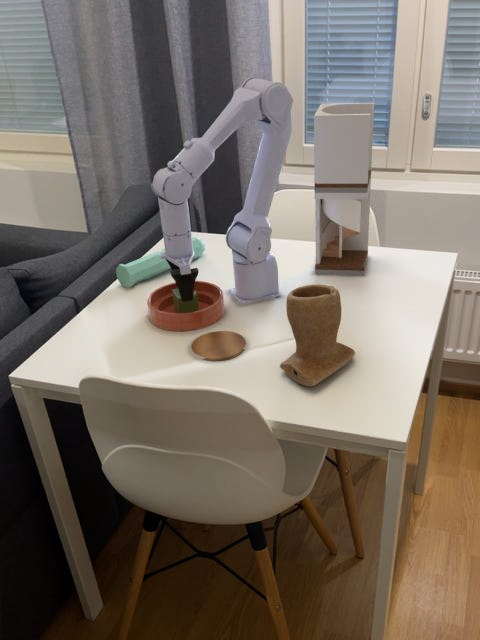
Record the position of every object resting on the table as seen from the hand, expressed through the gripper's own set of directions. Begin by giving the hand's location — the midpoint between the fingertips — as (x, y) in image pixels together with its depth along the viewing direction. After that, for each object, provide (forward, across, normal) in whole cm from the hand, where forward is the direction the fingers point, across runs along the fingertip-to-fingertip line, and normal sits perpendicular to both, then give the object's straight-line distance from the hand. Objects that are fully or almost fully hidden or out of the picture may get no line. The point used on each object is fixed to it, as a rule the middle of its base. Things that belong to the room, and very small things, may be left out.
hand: (184, 292), depth 148 cm
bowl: (+5, 0, 0) cm, 5 cm away
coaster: (+5, +16, +4) cm, 17 cm away
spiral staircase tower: (+6, -13, +40) cm, 42 cm away
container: (+6, -26, -1) cm, 27 cm away
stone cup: (+6, +29, +19) cm, 35 cm away
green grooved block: (+5, 0, 0) cm, 5 cm away
